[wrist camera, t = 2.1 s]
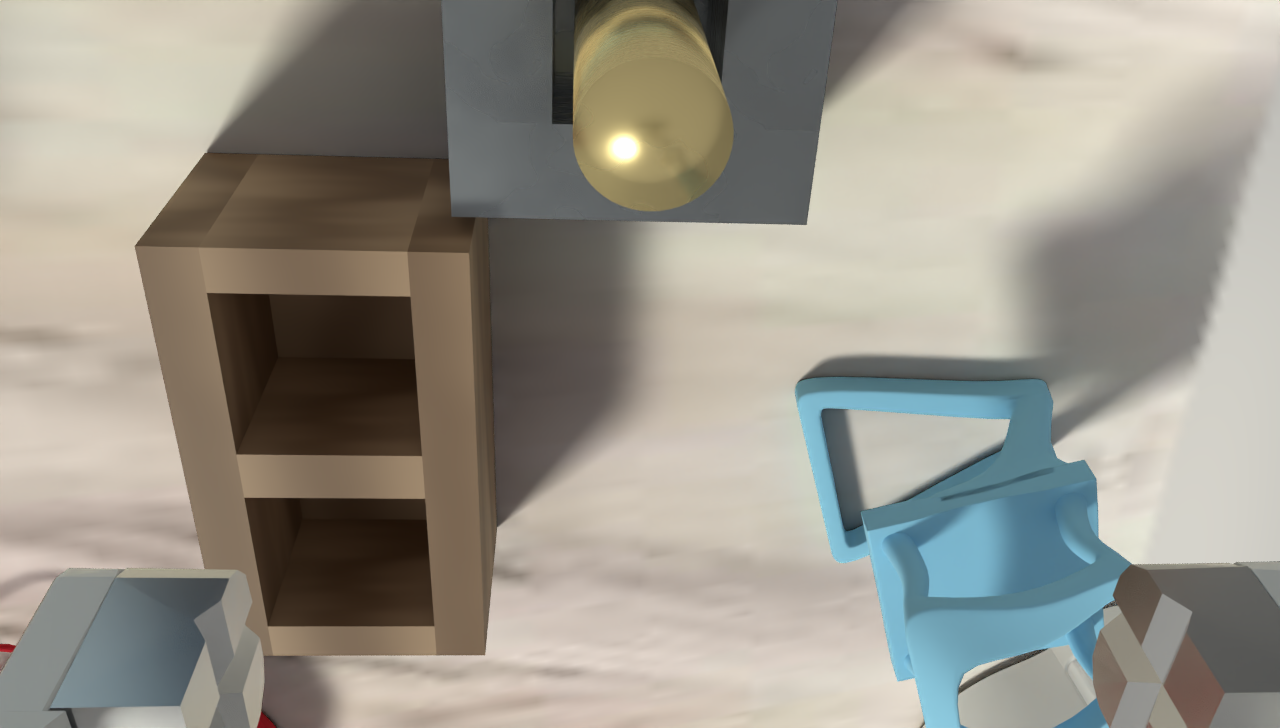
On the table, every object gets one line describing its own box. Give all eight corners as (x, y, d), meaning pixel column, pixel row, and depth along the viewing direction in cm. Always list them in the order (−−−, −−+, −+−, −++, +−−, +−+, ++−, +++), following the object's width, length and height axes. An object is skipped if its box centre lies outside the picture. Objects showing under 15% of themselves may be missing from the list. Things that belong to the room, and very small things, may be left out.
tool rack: (486, 160, 32) (469, 252, 27) (497, 528, 40) (484, 655, 35) (205, 152, 32) (134, 246, 27) (269, 527, 39) (223, 655, 34)
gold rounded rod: (692, -59, 28) (740, 60, 20) (685, 57, 30) (725, 213, 22) (575, -64, 28) (573, 54, 20) (574, 53, 30) (571, 209, 21)
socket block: (817, -189, 28) (860, -161, 24) (777, 151, 33) (806, 224, 29) (454, -206, 27) (432, -181, 23) (468, 143, 32) (451, 216, 28)
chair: (1054, 497, 40) (1213, 778, 30) (829, 549, 41) (911, 839, 31) (1040, 320, 36) (1218, 576, 26) (790, 381, 37) (870, 652, 27)
